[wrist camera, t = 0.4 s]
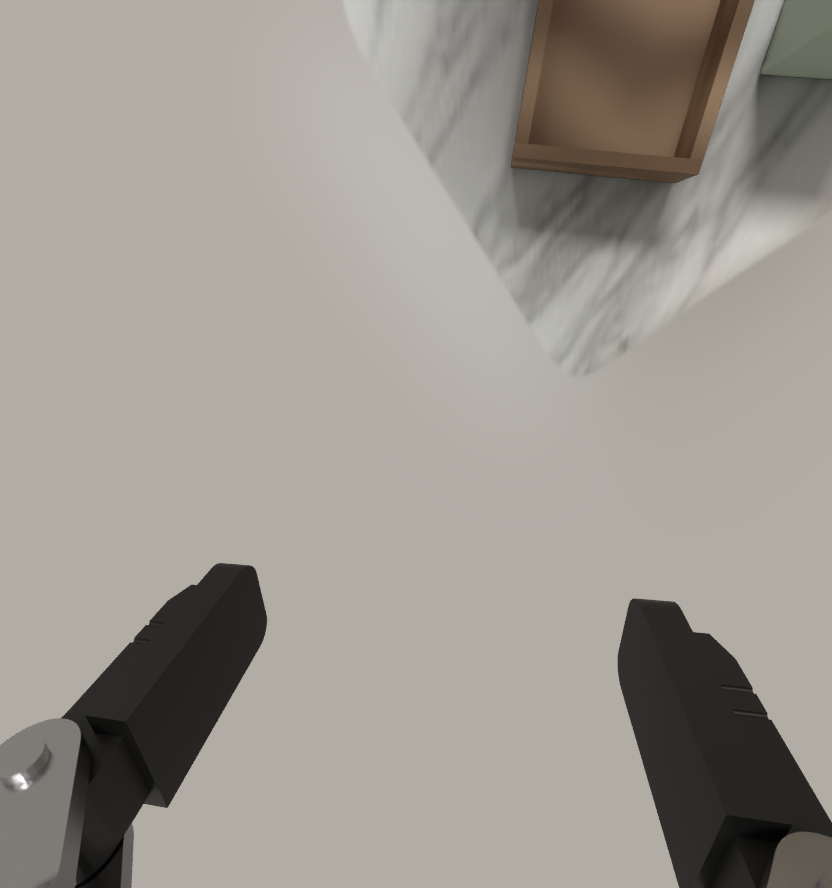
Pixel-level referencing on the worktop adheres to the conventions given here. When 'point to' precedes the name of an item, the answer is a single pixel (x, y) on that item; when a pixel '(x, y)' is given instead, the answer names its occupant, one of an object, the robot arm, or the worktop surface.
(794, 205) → the worktop surface
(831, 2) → the small crate
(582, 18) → the big crate
